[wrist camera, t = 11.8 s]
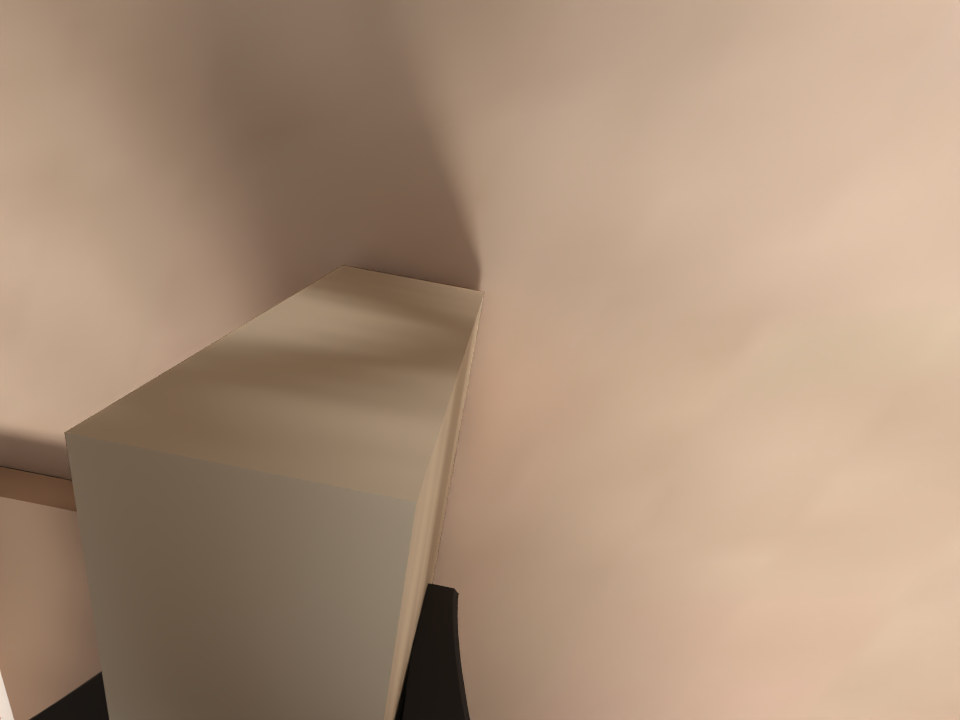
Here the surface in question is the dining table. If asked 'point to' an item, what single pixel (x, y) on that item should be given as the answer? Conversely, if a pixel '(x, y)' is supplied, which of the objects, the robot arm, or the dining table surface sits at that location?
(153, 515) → the tall cream pillar
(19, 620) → the brown wooden board
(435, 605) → the robot arm
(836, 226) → the dining table surface
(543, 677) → the dining table surface
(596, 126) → the dining table surface
